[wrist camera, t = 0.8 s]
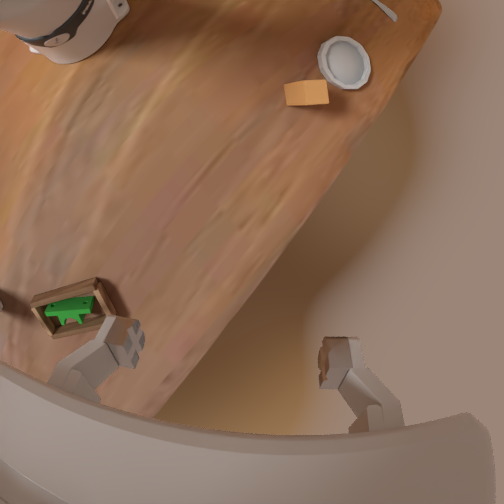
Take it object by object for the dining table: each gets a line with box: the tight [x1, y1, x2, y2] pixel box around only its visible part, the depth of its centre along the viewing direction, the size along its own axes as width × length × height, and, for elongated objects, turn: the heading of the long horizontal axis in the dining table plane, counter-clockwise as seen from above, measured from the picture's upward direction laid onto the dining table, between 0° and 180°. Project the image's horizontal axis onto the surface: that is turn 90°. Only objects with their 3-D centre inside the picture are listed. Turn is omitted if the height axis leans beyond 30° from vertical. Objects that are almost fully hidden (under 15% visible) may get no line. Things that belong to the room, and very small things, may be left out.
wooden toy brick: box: [284, 80, 329, 106], centre depth 41 cm, size 4×4×8 cm
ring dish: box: [317, 36, 371, 89], centre depth 42 cm, size 11×11×2 cm
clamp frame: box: [30, 277, 116, 339], centre depth 50 cm, size 10×18×3 cm, turn 99°
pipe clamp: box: [45, 296, 95, 325], centre depth 49 cm, size 11×4×5 cm, turn 89°
